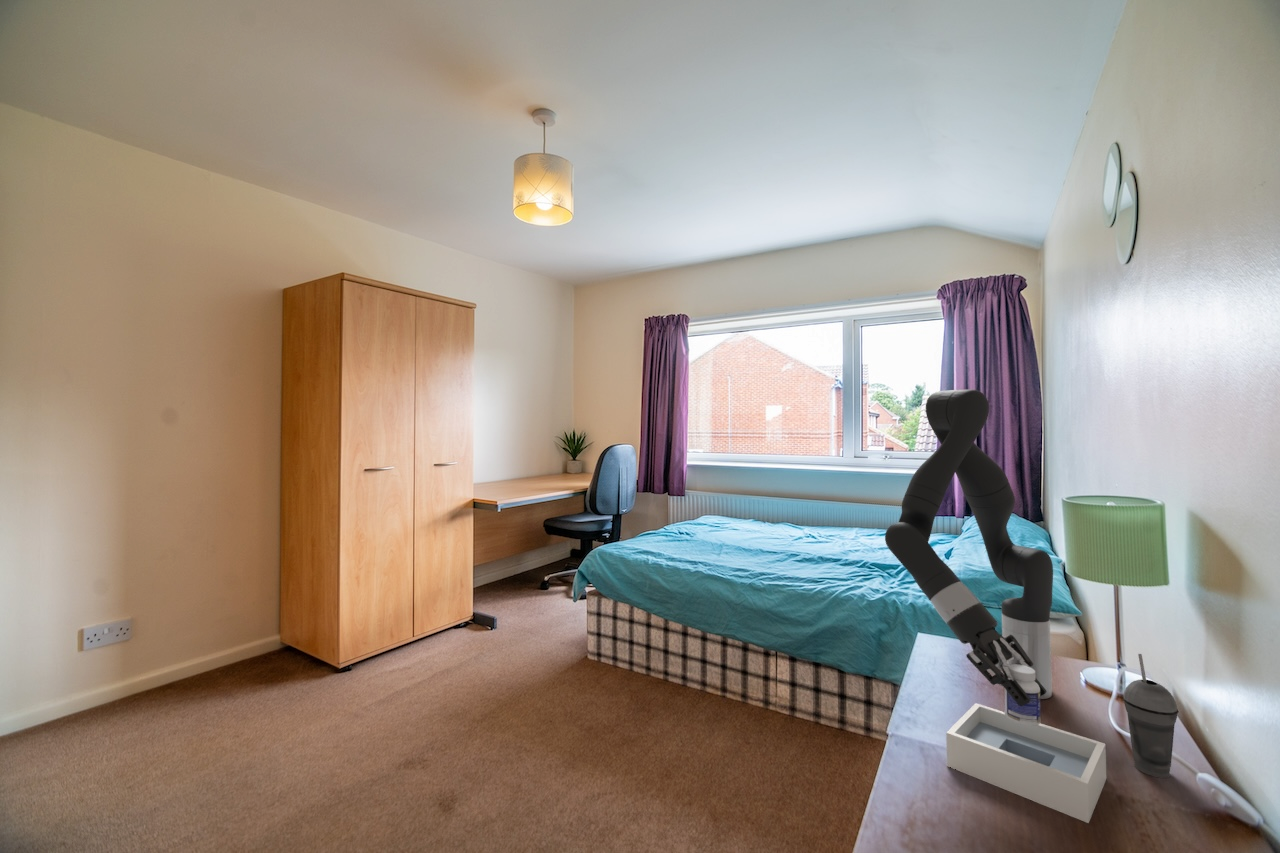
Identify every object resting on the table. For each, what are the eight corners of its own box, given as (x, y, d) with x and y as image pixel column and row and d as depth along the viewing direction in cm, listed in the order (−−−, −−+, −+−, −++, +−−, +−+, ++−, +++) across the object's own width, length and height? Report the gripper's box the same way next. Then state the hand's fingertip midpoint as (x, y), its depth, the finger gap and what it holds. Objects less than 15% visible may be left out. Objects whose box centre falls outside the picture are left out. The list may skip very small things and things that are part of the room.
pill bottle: (1046, 728, 94) (1046, 676, 94) (1012, 725, 95) (1012, 673, 95) (1031, 713, 99) (1030, 663, 99) (999, 710, 100) (998, 661, 100)
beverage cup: (1169, 787, 92) (1166, 668, 93) (1116, 765, 99) (1113, 653, 99) (1188, 775, 96) (1184, 659, 96) (1135, 753, 102) (1132, 645, 102)
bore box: (976, 733, 110) (975, 703, 110) (1106, 778, 95) (1105, 743, 95) (947, 766, 99) (946, 732, 99) (1088, 823, 84) (1087, 783, 84)
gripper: (956, 608, 100) (1032, 701, 90) (995, 595, 108) (1070, 680, 97) (928, 628, 104) (997, 719, 94) (968, 615, 112) (1036, 698, 102)
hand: (1034, 699), depth 96 cm, fingers closed on pill bottle, 5 cm apart
